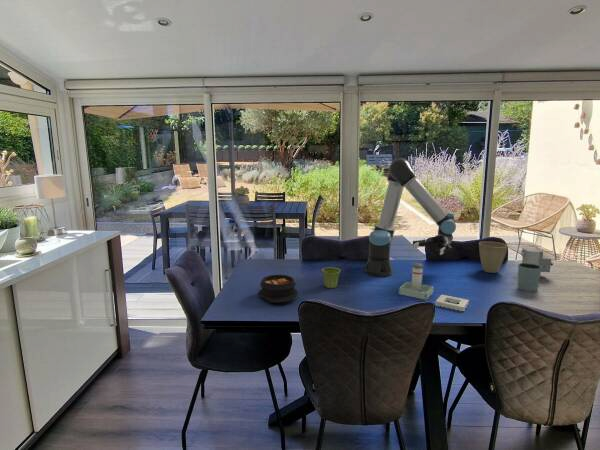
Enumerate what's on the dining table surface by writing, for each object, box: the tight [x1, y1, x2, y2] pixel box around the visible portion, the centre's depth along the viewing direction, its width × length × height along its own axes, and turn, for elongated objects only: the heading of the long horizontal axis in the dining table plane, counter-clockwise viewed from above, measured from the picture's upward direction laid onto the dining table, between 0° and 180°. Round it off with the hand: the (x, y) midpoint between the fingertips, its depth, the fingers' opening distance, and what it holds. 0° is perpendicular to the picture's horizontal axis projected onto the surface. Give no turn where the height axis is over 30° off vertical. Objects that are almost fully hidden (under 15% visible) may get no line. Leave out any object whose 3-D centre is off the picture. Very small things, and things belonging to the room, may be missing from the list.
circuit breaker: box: [520, 247, 554, 279], centre depth 215 cm, size 8×14×15 cm, turn 78°
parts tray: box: [398, 281, 434, 301], centre depth 189 cm, size 13×11×3 cm
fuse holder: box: [434, 294, 470, 312], centre depth 175 cm, size 12×10×2 cm
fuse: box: [411, 262, 424, 292], centre depth 188 cm, size 5×5×14 cm
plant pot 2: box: [478, 241, 509, 274], centre depth 224 cm, size 15×15×16 cm
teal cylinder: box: [517, 262, 542, 292], centre depth 196 cm, size 10×10×12 cm
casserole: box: [258, 274, 299, 304], centre depth 185 cm, size 25×19×8 cm
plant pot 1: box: [321, 266, 341, 289], centre depth 198 cm, size 9×9×9 cm
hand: (427, 249), depth 196 cm, fingers open, 13 cm apart
